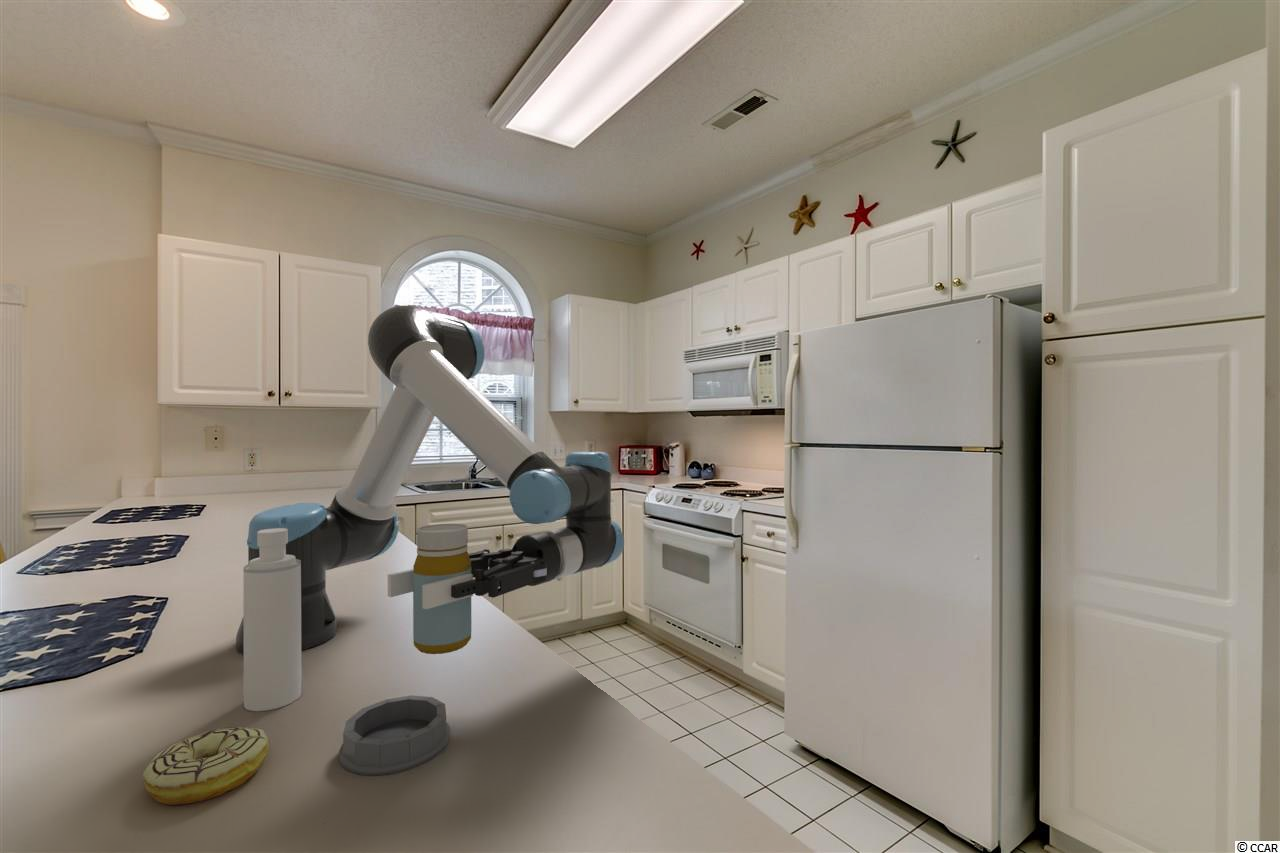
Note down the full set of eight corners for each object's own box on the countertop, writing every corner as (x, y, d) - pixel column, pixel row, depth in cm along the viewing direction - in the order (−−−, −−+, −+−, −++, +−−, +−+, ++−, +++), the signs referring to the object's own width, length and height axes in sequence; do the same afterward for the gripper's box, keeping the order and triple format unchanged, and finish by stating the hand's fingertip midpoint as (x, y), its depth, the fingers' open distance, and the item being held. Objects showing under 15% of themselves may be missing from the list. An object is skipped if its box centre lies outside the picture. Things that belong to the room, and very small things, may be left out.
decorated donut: (222, 745, 68) (222, 713, 68) (290, 761, 64) (290, 728, 64) (118, 799, 58) (118, 761, 58) (191, 821, 54) (191, 782, 54)
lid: (321, 748, 66) (321, 722, 66) (417, 708, 76) (416, 685, 76) (370, 789, 59) (370, 759, 59) (470, 739, 68) (470, 713, 68)
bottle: (454, 657, 68) (454, 533, 68) (402, 653, 70) (401, 531, 70) (480, 636, 75) (480, 523, 75) (432, 633, 77) (432, 522, 77)
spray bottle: (239, 716, 74) (239, 524, 74) (247, 694, 80) (247, 517, 80) (299, 704, 77) (299, 520, 77) (303, 684, 83) (302, 513, 83)
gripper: (594, 592, 81) (455, 641, 62) (503, 570, 93) (364, 606, 75) (594, 539, 81) (455, 573, 62) (503, 525, 93) (364, 549, 75)
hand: (406, 591), depth 69 cm, fingers closed on bottle, 7 cm apart
